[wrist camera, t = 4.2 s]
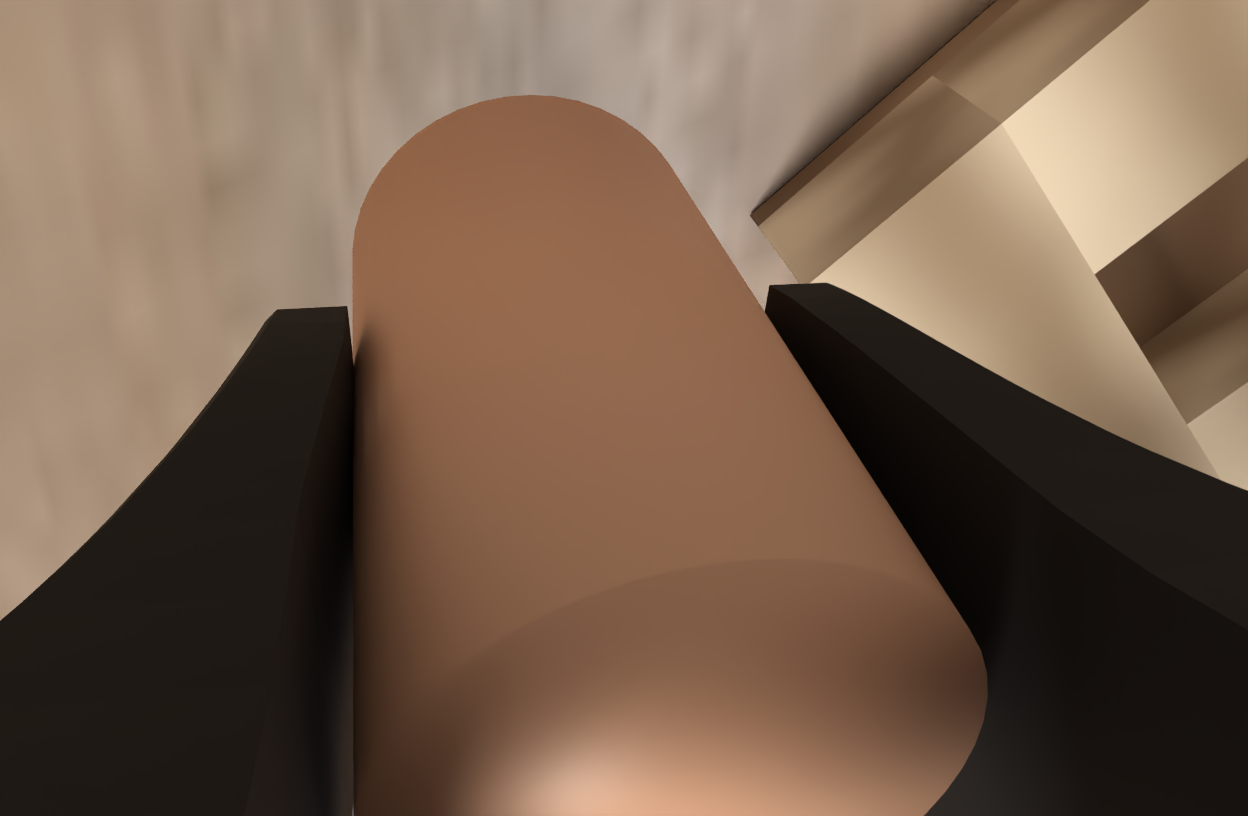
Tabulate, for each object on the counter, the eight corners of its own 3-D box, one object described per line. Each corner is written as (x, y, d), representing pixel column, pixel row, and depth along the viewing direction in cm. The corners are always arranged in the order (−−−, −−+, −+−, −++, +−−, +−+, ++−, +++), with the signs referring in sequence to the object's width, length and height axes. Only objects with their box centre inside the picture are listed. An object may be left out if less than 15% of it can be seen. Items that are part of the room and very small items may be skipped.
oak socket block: (1031, 529, 28) (1093, 608, 25) (750, 215, 20) (803, 288, 17) (1515, 191, 24) (1639, 247, 22) (1407, -358, 16) (1586, -363, 14)
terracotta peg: (525, 451, 13) (649, 999, 8) (276, 273, 11) (201, 871, 6) (755, 253, 12) (1082, 726, 7) (531, 14, 10) (751, 430, 4)
